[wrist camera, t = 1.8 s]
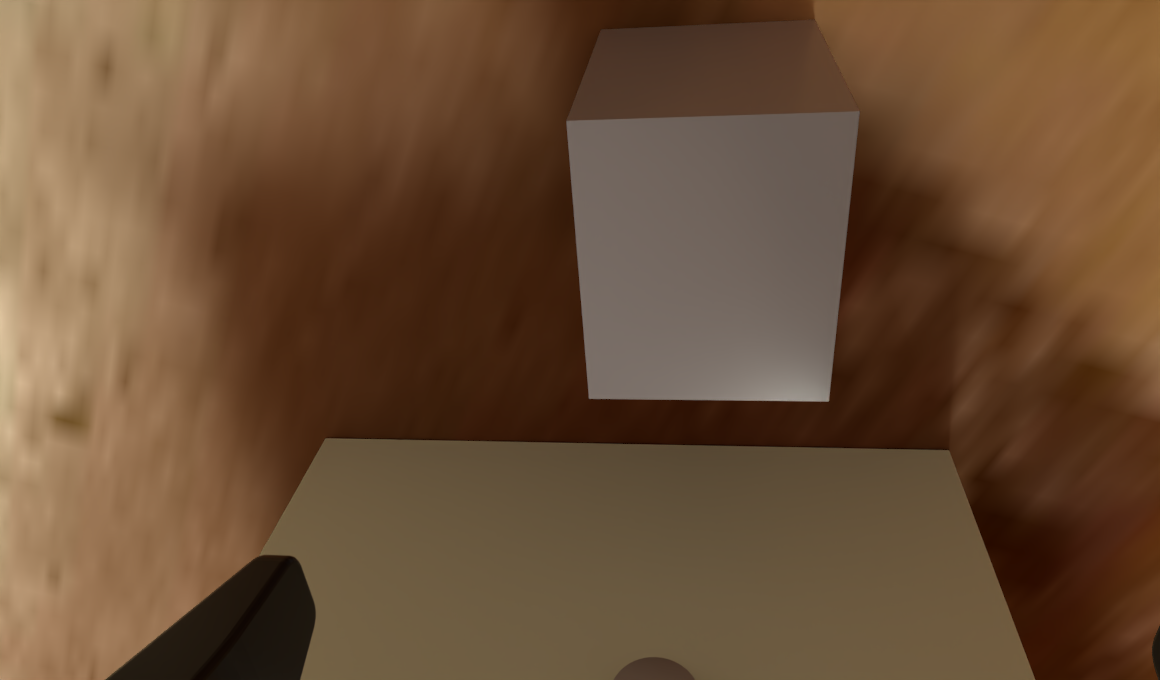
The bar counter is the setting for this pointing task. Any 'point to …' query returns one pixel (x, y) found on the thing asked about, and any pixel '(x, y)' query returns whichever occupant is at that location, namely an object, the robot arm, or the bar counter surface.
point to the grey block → (711, 210)
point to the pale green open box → (643, 564)
